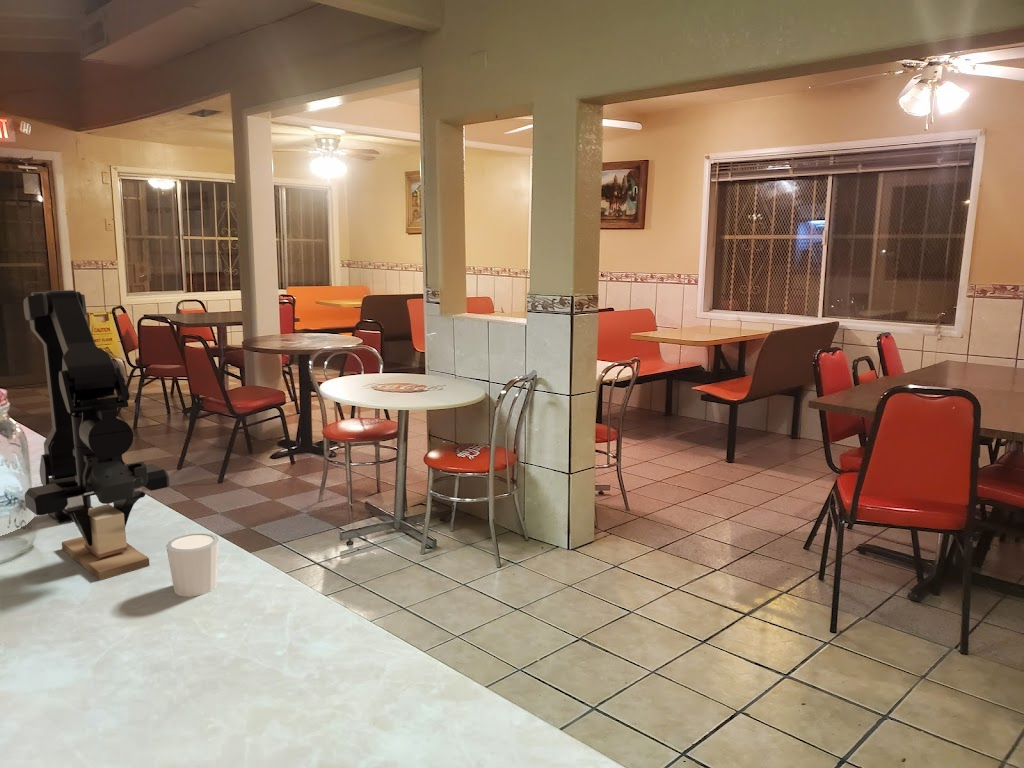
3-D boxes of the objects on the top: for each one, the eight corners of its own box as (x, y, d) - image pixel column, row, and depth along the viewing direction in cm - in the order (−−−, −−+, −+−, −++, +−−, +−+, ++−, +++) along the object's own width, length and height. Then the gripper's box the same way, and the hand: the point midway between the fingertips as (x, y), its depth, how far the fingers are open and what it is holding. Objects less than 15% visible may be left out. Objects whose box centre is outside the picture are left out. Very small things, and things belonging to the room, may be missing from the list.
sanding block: (84, 547, 116) (81, 510, 115) (111, 539, 119) (108, 504, 118) (99, 558, 112) (95, 520, 111) (126, 550, 115) (123, 513, 114)
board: (62, 548, 119) (61, 541, 119) (109, 536, 124) (108, 529, 124) (100, 580, 109) (99, 572, 109) (149, 565, 114) (149, 558, 114)
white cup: (209, 599, 104) (206, 551, 102) (160, 598, 104) (156, 550, 103) (228, 577, 110) (226, 532, 109) (182, 576, 111) (179, 531, 109)
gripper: (43, 467, 101) (54, 575, 104) (181, 441, 114) (188, 538, 117) (18, 451, 108) (29, 553, 111) (150, 429, 122) (157, 520, 124)
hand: (104, 541), depth 116 cm, fingers closed on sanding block, 4 cm apart
